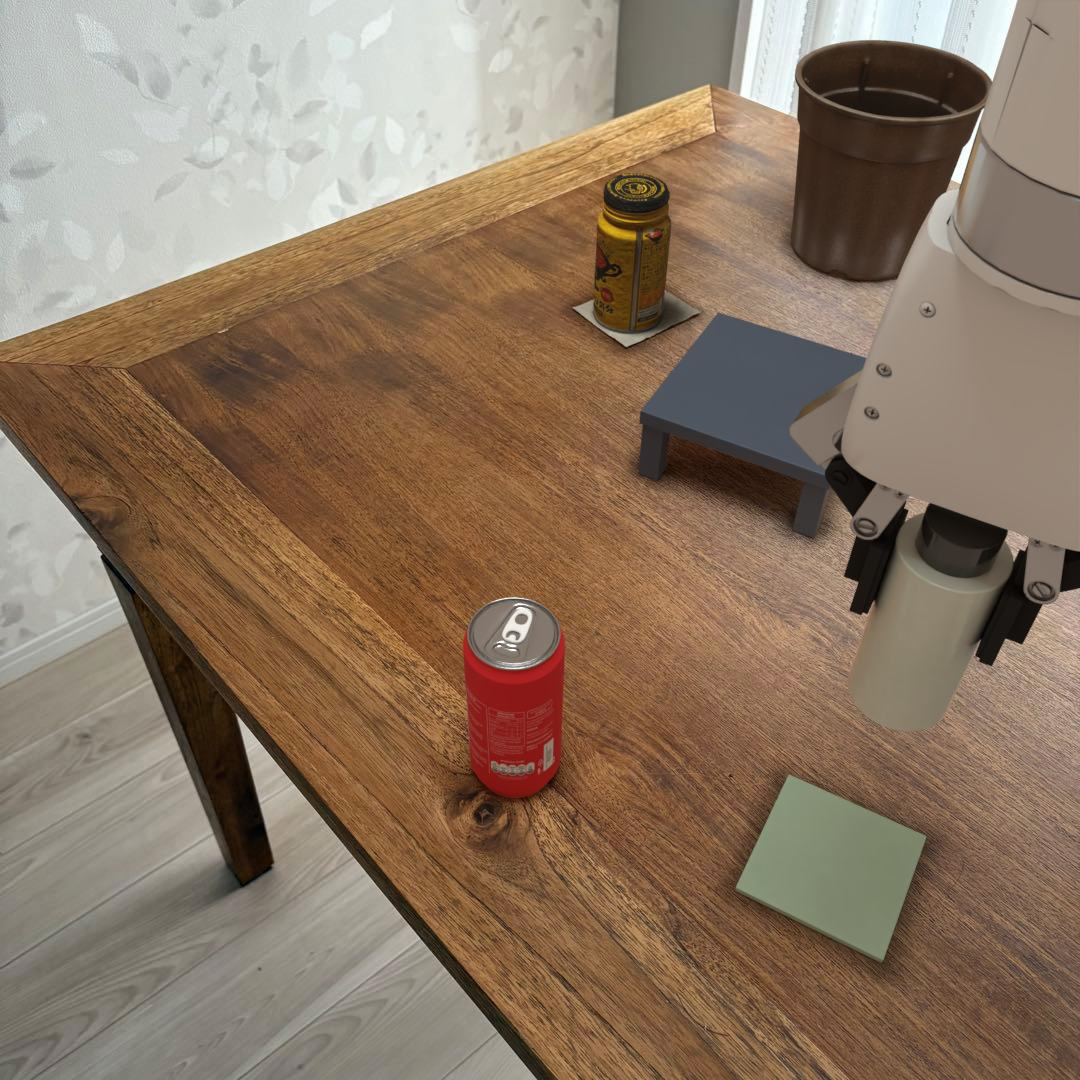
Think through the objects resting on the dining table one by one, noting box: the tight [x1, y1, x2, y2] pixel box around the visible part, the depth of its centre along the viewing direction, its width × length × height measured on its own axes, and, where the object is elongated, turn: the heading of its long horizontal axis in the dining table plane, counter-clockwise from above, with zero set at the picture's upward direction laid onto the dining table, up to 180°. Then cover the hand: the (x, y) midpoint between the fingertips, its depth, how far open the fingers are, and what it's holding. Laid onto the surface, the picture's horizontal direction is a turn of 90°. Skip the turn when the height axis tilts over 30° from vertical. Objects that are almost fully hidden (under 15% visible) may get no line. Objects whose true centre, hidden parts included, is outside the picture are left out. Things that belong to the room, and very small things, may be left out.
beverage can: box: [462, 596, 566, 799], centre depth 60 cm, size 5×5×12 cm
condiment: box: [572, 172, 701, 348], centre depth 92 cm, size 7×8×12 cm
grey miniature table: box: [637, 312, 867, 539], centre depth 82 cm, size 14×14×6 cm
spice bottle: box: [847, 502, 1014, 733], centre depth 45 cm, size 4×4×11 cm
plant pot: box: [790, 39, 993, 281], centre depth 99 cm, size 16×16×16 cm
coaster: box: [734, 774, 928, 964], centre depth 60 cm, size 8×8×1 cm
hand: (929, 612), depth 45 cm, fingers closed on spice bottle, 4 cm apart
